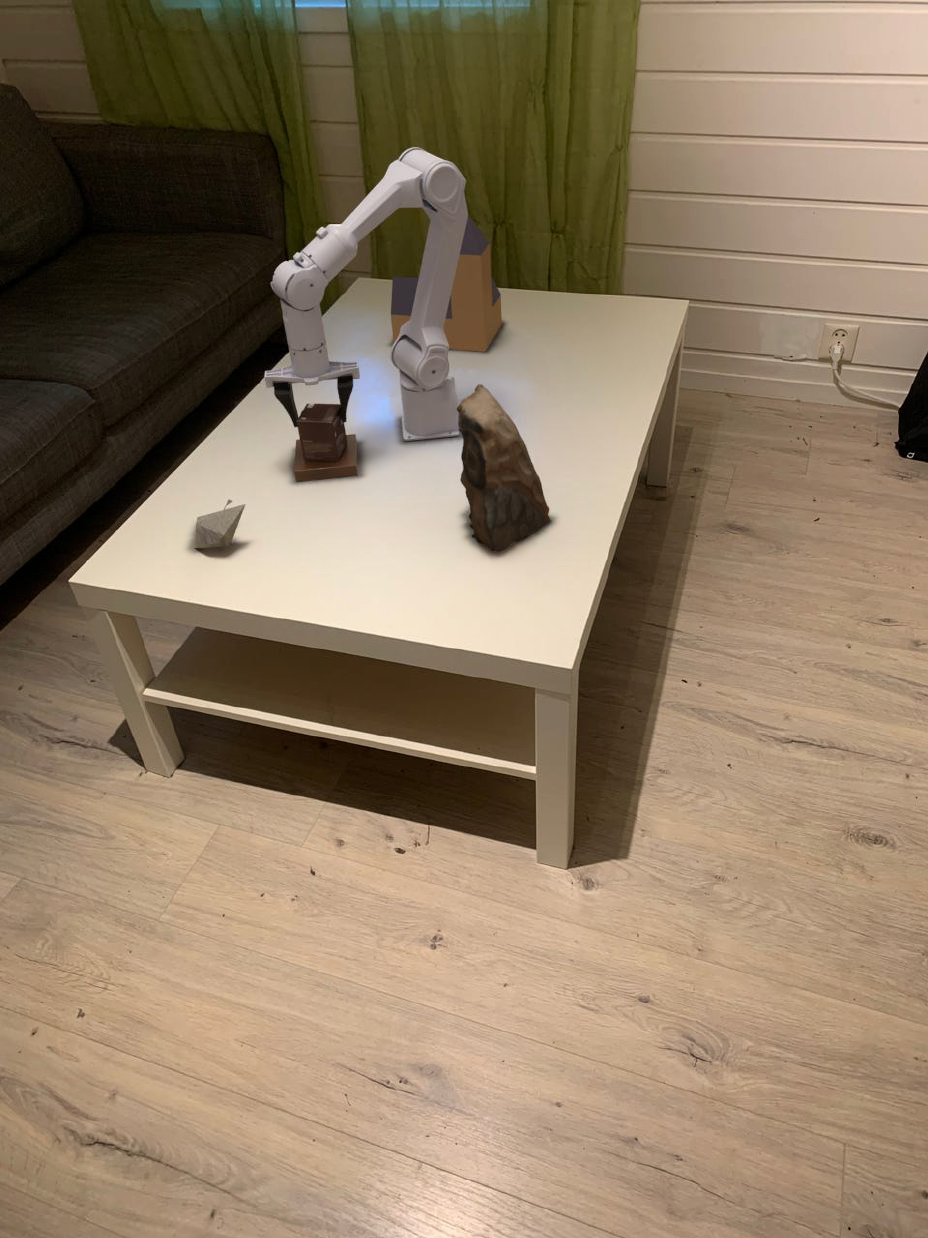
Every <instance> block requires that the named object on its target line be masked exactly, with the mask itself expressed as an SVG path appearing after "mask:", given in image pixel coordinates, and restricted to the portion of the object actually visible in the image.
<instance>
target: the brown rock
mask: <svg viewBox="0 0 928 1238" xmlns="http://www.w3.org/2000/svg"><path fill="white" fill-rule="evenodd" d="M457 411H458V412H459V421H458V424H459V433H461V435H462V449H461V455H460V457H461V458H460V459H461V462H462V472H461V473H460V479H459V480H460V483H461V484H462V486H463V487H464V490H465V497H466V499H467V501H468V505H469V510H470V511H469V512H470V513H469V515H468V518H469V519H470V520H471V524H469V527H470V529H472V530H473V533H472V535H471V537H472V538H473V539H474V540H475V541H476V542H477V543H478V544H480V545H484V546H485V547H487V548H488V549H490V550H491V551H492V552H494V553H498V552H502V551H504V550H505V549H507V548H509V547H510V546H511V545H512V544H514V543H518V542H520V541H521V540H522V539H523V538H525V537H527V536H528V535H529V534H533V533H535V532H537V531H539V530H540V529H541V528H542V527H543V526H545V525H546V524H548V523H549V522H550V521H551V518H550V516H549V513H550V507H549V505H548V503H547V500H546V497H545V495H544V489H543V485H542V481H541V478H540V476H539V474H538V473H537V471H536V468H535V466H534V464H533V462H532V459H531V456H530V454H529V450H528V448H527V445H526V443H525V441H524V439H523V438H522V436H521V434H520V431H519V429H518V427H517V425H516V423H515V422H514V421H513V420H512V418H511V416H509V414H508V413H507V412H506V411H505V410H504V408H503V406H502V405H501V404H500V402H499V401H498V400H497V398H496V397H495V396H494V395H493V394H492V393H491V392H490V391H489V389H487V388H486V387H485V386H484V385H483V384H481V383H478V384H477V385H476V387H475V388H474V391H473V392H471V394H470V395H468V396H466V397H465V398H463V399H462V400H461V401H460V403H459V404H458V405H457Z"/></svg>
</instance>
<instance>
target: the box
mask: <svg viewBox="0 0 928 1238" xmlns="http://www.w3.org/2000/svg"><path fill="white" fill-rule="evenodd" d="M296 428H297V431H298V436H299V438H298V439H300V443H301V448H302V453H303V459H304V460H320V461H338V460H339V459H340V457H341V455H342V453H343V451H344V449H345V447H346V445H347V437H346V435H347V432H346V425H345V422H344V423H342V419H341V405H340V403H314V402H311V403H306V404H305V406H304V408H303V409H302V410H301V411H300V415H298V419H297V427H296Z"/></svg>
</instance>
